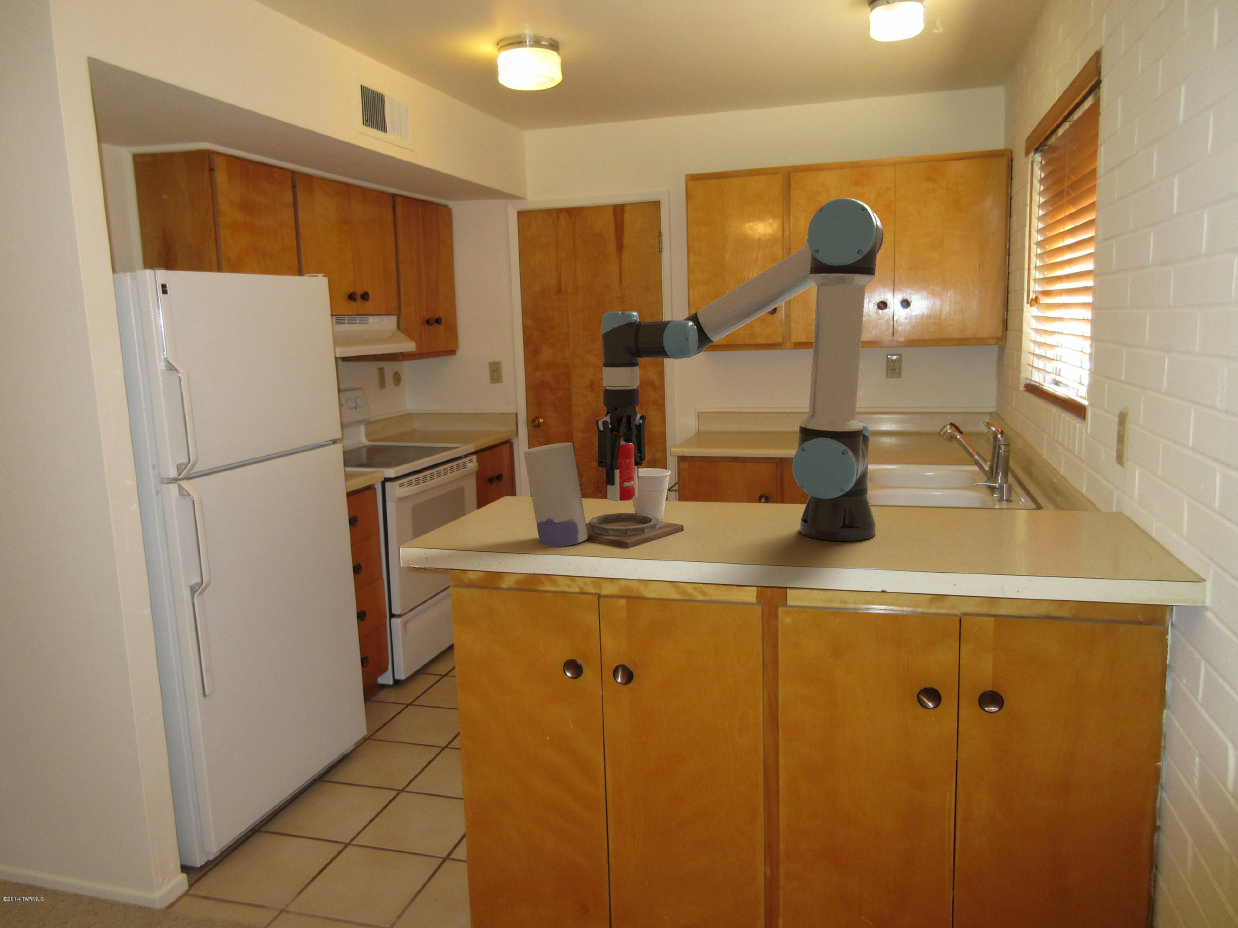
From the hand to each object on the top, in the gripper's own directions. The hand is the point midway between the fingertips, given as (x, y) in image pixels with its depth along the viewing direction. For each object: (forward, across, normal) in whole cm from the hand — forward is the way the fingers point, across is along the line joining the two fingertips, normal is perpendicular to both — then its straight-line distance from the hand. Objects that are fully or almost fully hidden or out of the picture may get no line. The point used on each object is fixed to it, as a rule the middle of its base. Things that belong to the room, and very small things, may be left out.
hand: (622, 497), depth 179 cm
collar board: (+8, 0, 0) cm, 8 cm away
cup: (+8, -13, -3) cm, 15 cm away
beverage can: (0, 0, 0) cm, 0 cm away
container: (+8, +12, -6) cm, 16 cm away
